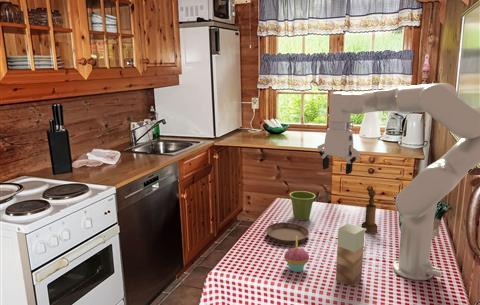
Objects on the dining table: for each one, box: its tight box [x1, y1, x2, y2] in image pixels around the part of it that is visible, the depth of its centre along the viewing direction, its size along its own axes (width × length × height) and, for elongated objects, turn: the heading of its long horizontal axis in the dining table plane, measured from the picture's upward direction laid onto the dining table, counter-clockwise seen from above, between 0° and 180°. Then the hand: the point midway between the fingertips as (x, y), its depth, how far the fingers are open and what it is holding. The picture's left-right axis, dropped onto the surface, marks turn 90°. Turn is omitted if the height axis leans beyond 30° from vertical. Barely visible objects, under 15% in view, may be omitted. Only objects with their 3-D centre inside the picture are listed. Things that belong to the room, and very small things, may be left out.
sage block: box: [337, 223, 366, 252], centre depth 125 cm, size 6×6×6 cm
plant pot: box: [289, 190, 316, 221], centre depth 180 cm, size 12×12×11 cm
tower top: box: [336, 245, 365, 269], centre depth 127 cm, size 6×6×6 cm
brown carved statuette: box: [361, 189, 379, 234], centre depth 165 cm, size 7×6×18 cm
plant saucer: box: [265, 221, 310, 245], centre depth 161 cm, size 18×18×3 cm
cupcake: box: [283, 236, 310, 273], centre depth 134 cm, size 9×8×12 cm
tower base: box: [335, 262, 363, 287], centre depth 128 cm, size 6×6×6 cm
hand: (336, 171), depth 146 cm, fingers open, 9 cm apart
